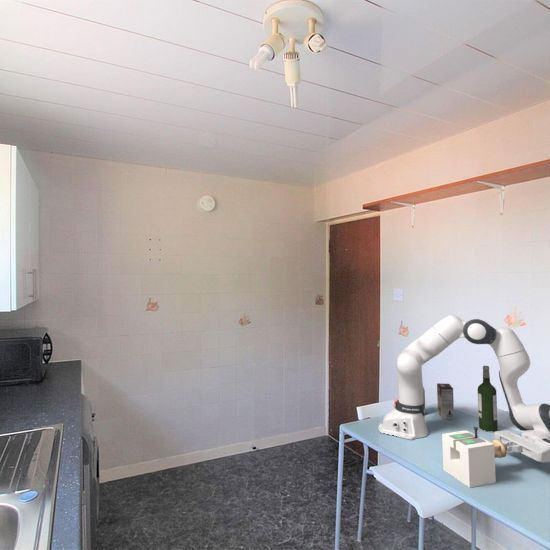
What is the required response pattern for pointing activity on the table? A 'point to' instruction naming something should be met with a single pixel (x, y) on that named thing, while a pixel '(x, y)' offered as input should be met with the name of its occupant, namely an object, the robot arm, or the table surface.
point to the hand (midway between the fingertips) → (504, 447)
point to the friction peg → (496, 446)
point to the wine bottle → (487, 403)
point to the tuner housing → (469, 458)
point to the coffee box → (445, 401)
